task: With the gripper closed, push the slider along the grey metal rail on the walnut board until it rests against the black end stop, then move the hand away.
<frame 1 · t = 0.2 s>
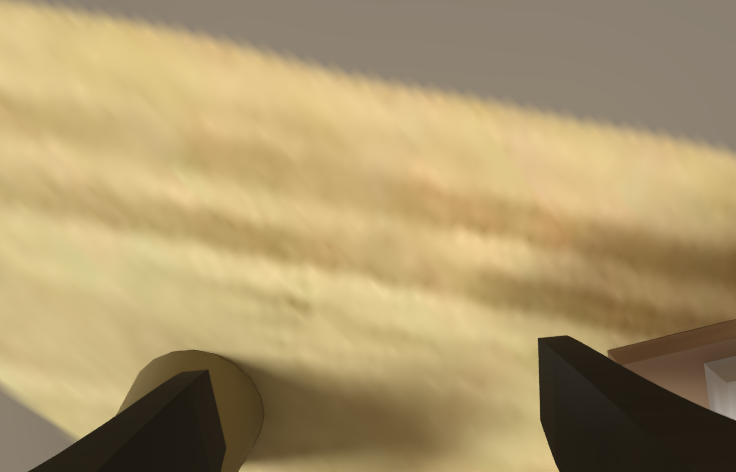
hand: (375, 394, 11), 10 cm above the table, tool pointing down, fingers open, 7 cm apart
cork: (198, 407, 24), on the table
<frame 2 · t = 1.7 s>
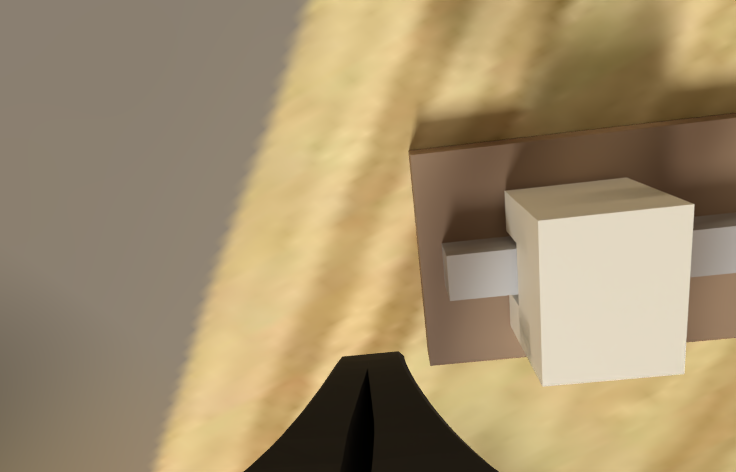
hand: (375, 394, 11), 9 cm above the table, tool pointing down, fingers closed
slider: (587, 275, 16), point 3 cm above the table, slide at 0.0 cm
rail board: (661, 230, 19), on the table
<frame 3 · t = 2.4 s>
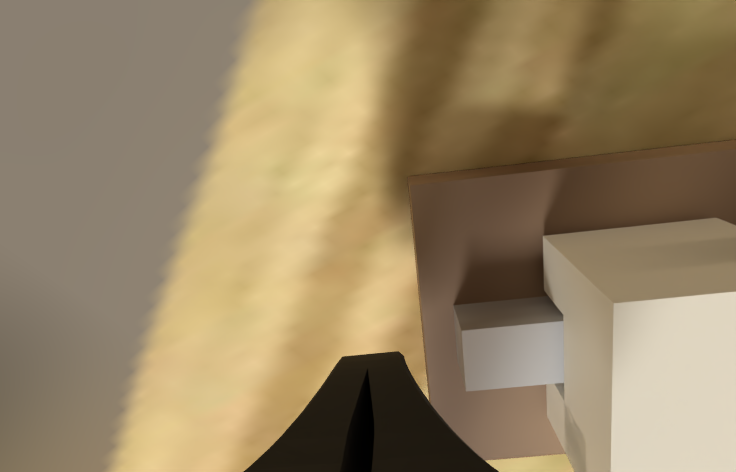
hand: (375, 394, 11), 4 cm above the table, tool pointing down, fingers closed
slider: (668, 364, 11), point 3 cm above the table, slide at 0.0 cm
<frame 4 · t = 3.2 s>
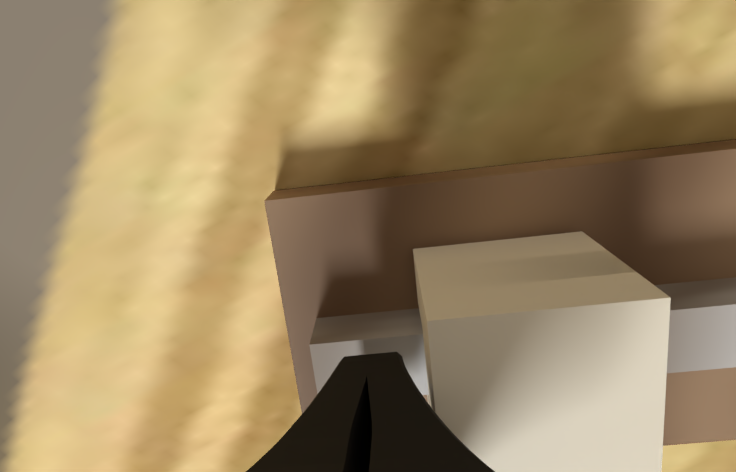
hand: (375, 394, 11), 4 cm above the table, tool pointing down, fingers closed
slider: (521, 377, 11), point 3 cm above the table, slide at 0.4 cm, touching gripper
rail board: (619, 296, 14), on the table
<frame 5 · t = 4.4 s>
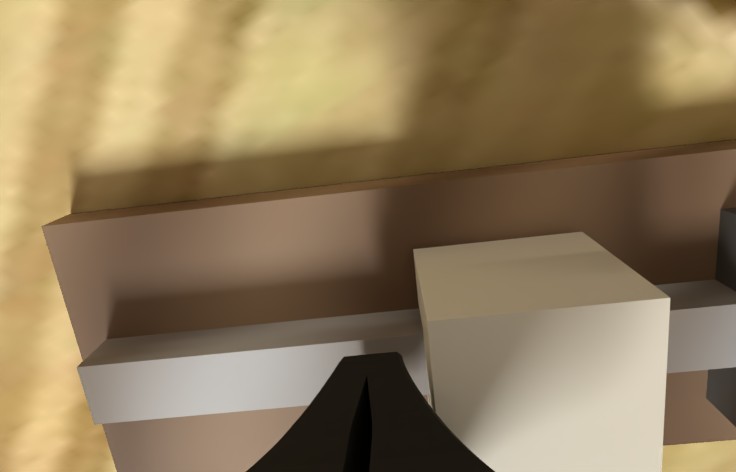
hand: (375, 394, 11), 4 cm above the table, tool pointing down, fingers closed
slider: (521, 377, 11), point 3 cm above the table, slide at 6.1 cm, touching gripper
rail board: (416, 316, 15), on the table
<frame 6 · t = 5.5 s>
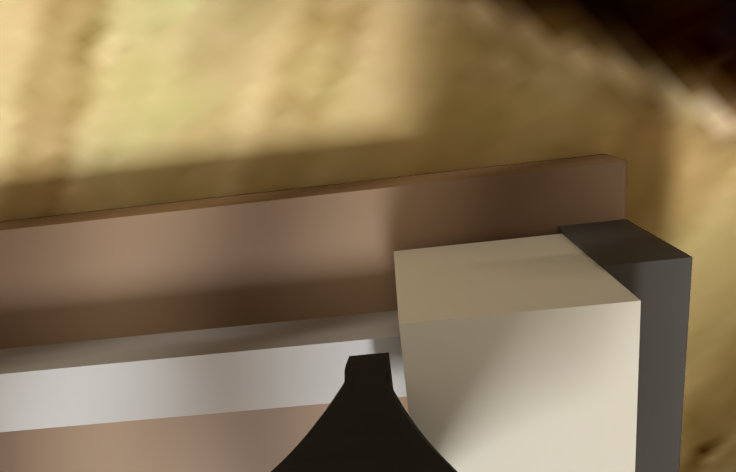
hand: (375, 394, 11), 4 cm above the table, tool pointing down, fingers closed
slider: (499, 379, 11), point 3 cm above the table, slide at 9.4 cm, touching gripper, rail board
rail board: (282, 329, 15), on the table
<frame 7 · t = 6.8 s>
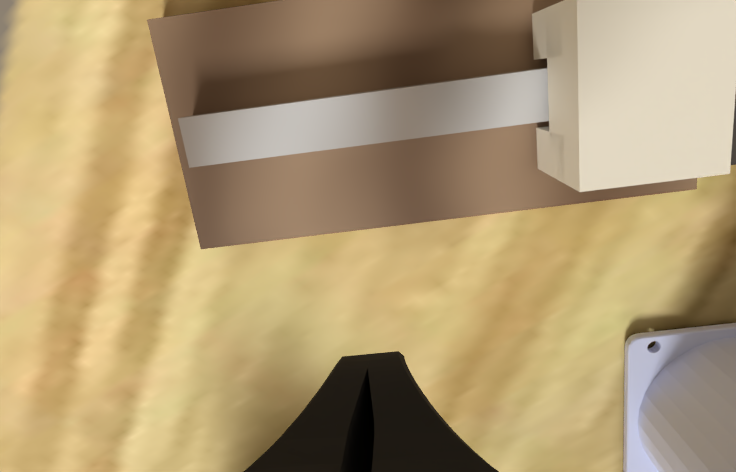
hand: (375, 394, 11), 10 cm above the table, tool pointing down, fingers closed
slider: (622, 87, 15), point 3 cm above the table, slide at 9.4 cm, touching rail board
rail board: (428, 105, 19), on the table
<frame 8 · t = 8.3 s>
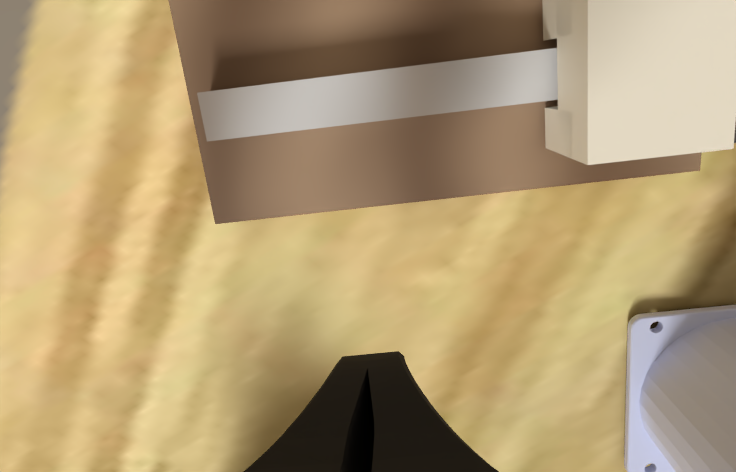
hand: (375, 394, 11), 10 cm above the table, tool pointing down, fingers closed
slider: (630, 65, 16), point 3 cm above the table, slide at 9.4 cm, touching rail board
rail board: (439, 86, 19), on the table
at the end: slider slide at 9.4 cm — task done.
